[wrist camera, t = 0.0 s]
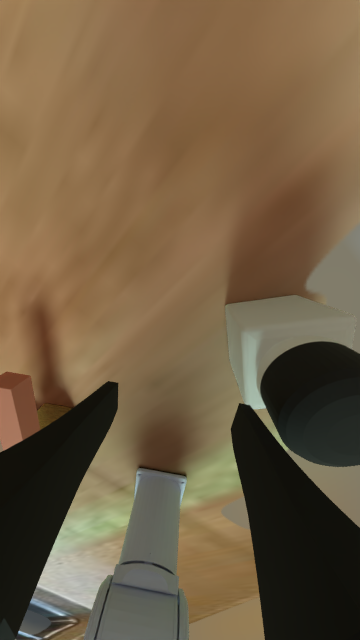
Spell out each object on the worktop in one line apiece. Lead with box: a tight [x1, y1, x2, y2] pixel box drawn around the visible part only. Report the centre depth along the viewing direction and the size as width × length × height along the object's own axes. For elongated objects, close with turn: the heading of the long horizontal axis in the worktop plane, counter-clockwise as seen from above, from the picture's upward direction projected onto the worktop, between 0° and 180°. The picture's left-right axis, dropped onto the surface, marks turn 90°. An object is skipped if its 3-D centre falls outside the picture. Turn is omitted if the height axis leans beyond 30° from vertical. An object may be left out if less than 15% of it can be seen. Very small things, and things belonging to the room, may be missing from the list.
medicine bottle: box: [225, 295, 360, 467], centre depth 13 cm, size 7×7×12 cm
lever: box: [0, 372, 40, 450], centre depth 19 cm, size 14×3×2 cm, turn 172°
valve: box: [37, 403, 72, 430], centre depth 24 cm, size 6×8×4 cm
